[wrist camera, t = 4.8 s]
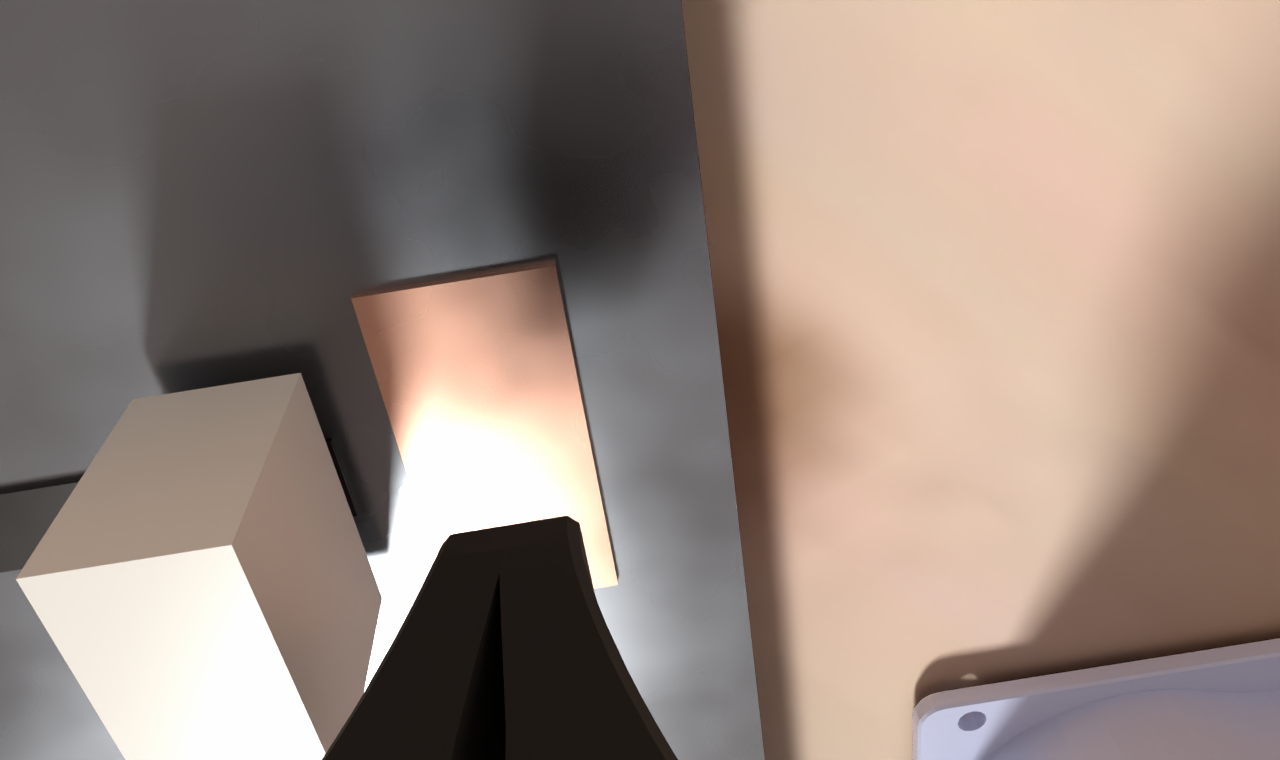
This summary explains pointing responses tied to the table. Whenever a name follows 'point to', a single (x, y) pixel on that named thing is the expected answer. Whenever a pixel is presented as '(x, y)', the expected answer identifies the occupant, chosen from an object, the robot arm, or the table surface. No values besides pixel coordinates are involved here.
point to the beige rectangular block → (212, 579)
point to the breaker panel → (381, 298)
